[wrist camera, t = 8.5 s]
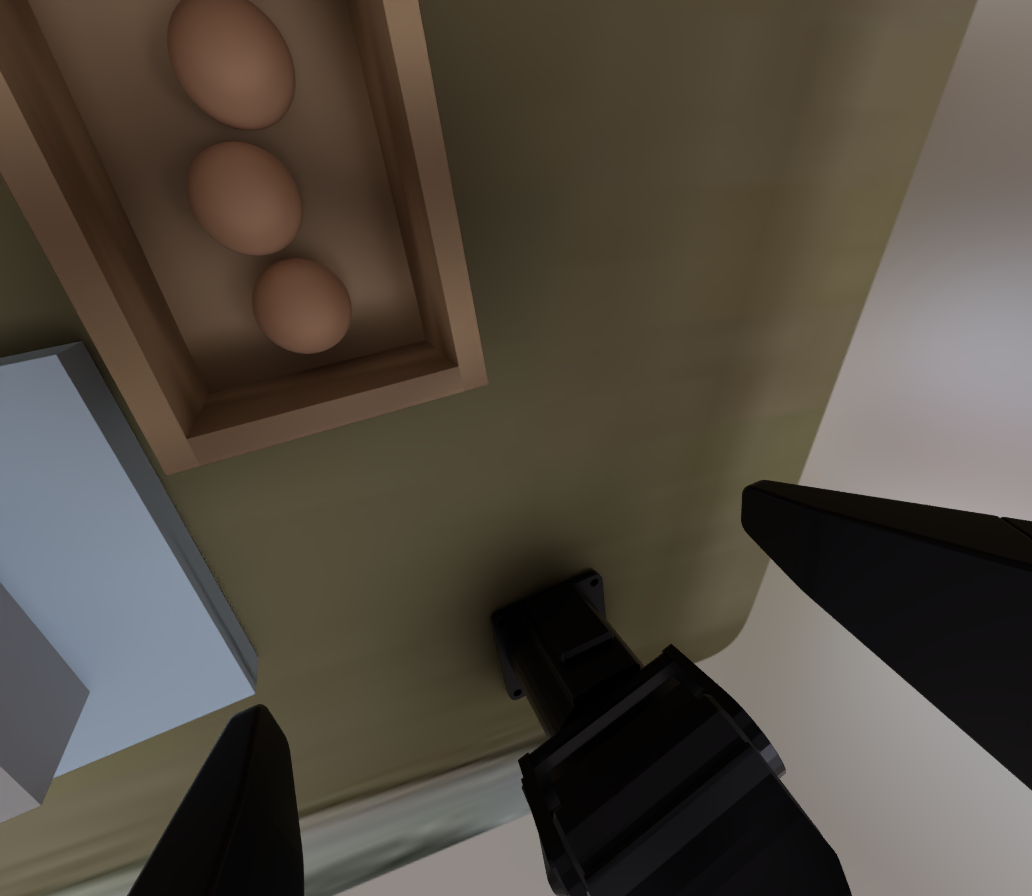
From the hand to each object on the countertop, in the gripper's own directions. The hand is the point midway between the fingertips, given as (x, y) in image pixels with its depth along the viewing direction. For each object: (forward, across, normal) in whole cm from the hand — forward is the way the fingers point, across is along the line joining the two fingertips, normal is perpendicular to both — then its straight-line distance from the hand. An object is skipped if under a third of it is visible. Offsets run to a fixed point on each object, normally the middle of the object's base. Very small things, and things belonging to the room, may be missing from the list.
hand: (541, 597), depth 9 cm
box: (+13, +2, -7) cm, 15 cm away
